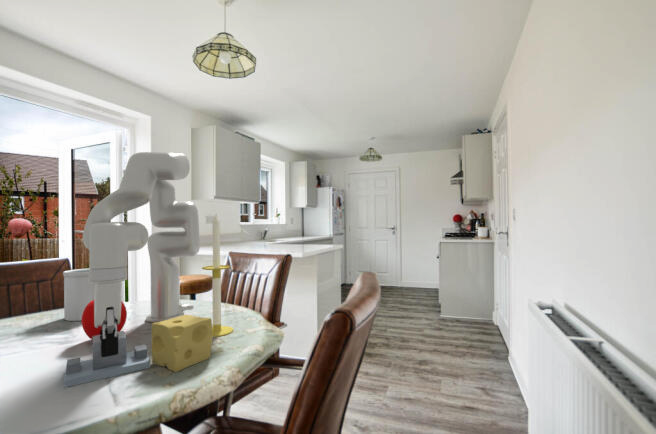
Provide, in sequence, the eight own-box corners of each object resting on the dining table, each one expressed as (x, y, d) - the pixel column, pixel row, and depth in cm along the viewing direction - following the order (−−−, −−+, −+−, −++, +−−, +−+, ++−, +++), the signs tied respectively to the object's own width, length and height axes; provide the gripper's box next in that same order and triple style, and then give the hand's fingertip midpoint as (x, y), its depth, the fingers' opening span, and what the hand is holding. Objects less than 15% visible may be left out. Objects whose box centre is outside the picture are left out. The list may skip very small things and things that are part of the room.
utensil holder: (87, 310, 135) (87, 267, 136) (120, 311, 133) (120, 267, 134) (52, 321, 121) (52, 272, 121) (89, 322, 118) (89, 272, 119)
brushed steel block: (92, 361, 80) (92, 335, 80) (123, 354, 83) (123, 330, 84) (92, 370, 75) (92, 343, 75) (126, 363, 78) (126, 337, 78)
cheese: (175, 373, 76) (175, 329, 76) (149, 363, 82) (148, 322, 82) (213, 357, 85) (213, 317, 85) (186, 349, 91) (186, 312, 91)
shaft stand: (144, 354, 87) (144, 327, 88) (150, 367, 79) (150, 337, 80) (66, 370, 78) (66, 340, 78) (64, 387, 70) (64, 353, 70)
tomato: (72, 343, 97) (72, 298, 97) (109, 332, 107) (109, 291, 107) (99, 348, 93) (99, 301, 93) (134, 335, 103) (134, 293, 103)
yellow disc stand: (200, 339, 99) (199, 212, 100) (199, 329, 108) (198, 213, 109) (235, 334, 103) (233, 212, 103) (231, 325, 112) (230, 213, 113)
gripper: (89, 272, 84) (89, 343, 84) (89, 281, 70) (89, 366, 70) (124, 269, 89) (124, 337, 88) (130, 277, 74) (131, 358, 74)
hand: (108, 349), depth 79 cm, fingers open, 7 cm apart
